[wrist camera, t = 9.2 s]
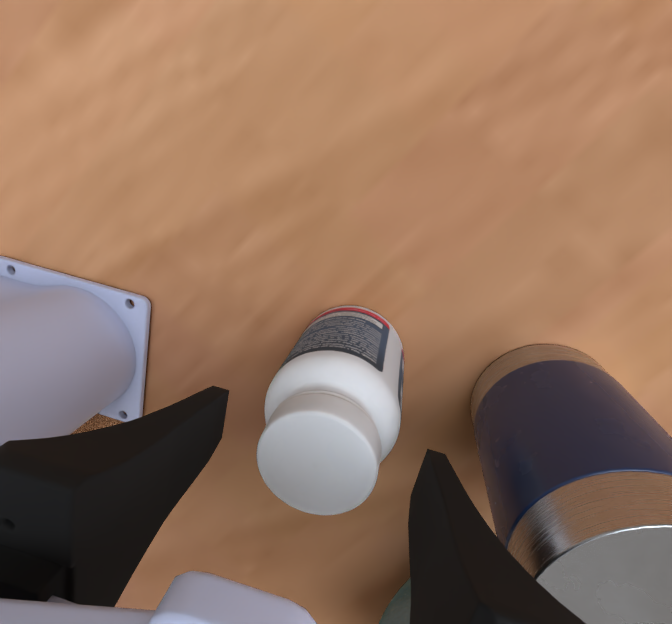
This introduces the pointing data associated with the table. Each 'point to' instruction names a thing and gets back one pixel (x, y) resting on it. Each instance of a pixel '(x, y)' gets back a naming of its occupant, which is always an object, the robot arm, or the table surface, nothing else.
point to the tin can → (578, 483)
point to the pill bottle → (333, 412)
